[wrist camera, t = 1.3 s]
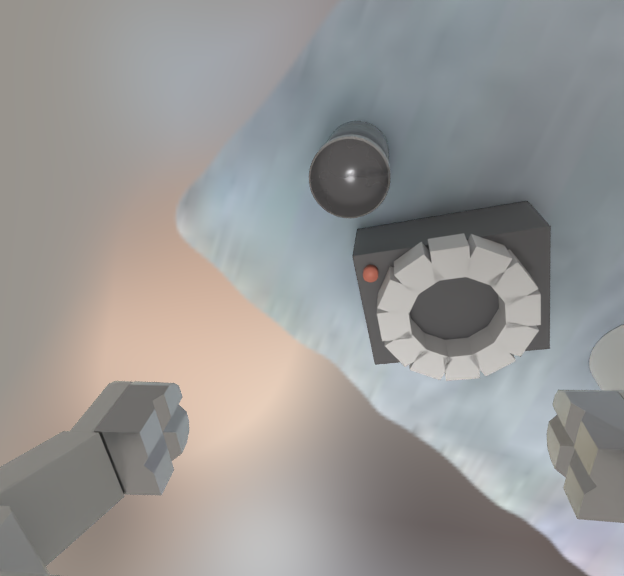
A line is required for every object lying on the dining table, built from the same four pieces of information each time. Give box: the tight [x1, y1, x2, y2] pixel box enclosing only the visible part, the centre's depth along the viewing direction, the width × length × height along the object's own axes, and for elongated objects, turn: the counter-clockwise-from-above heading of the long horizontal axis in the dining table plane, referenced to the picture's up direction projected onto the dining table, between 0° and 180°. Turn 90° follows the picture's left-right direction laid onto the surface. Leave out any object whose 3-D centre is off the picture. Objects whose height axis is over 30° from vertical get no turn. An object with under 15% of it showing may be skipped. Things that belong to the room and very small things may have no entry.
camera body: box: [353, 201, 551, 381], centre depth 31 cm, size 12×10×7 cm
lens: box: [309, 121, 390, 218], centre depth 28 cm, size 5×5×7 cm
